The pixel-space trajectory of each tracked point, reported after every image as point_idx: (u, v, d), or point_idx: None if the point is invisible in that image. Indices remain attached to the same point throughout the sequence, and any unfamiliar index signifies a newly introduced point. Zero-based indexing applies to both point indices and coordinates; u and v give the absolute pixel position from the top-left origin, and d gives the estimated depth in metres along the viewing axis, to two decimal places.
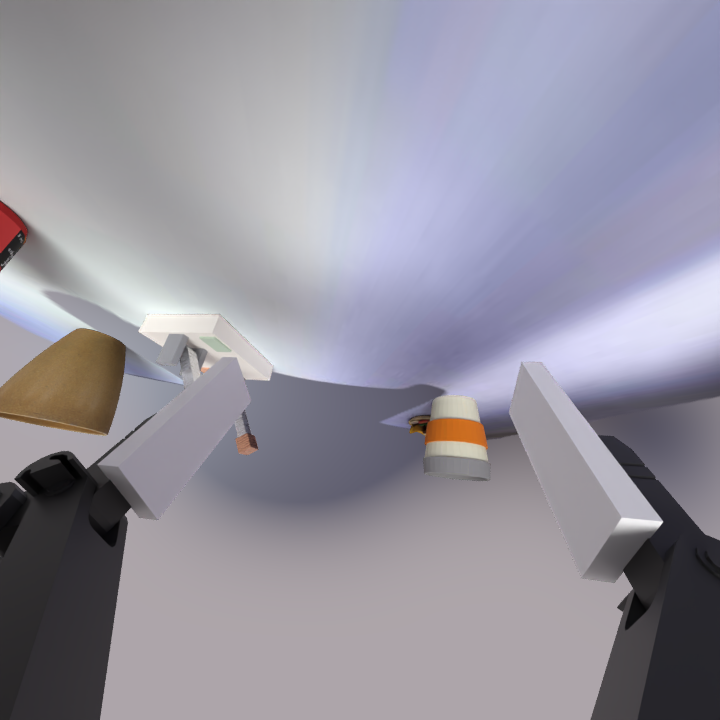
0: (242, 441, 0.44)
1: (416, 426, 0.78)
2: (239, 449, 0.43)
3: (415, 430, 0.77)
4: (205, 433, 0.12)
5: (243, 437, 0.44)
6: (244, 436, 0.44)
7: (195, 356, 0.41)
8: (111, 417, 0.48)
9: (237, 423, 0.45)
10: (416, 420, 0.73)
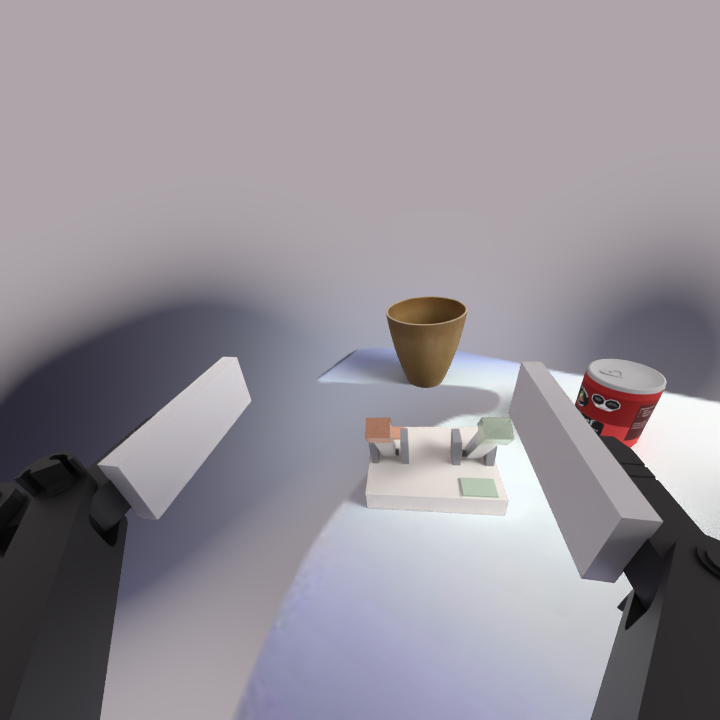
0: (391, 431, 0.29)
1: None
2: (390, 421, 0.28)
3: None
4: (205, 433, 0.12)
5: (391, 434, 0.29)
6: (391, 437, 0.29)
7: (469, 457, 0.36)
8: (404, 336, 0.50)
9: None
10: None
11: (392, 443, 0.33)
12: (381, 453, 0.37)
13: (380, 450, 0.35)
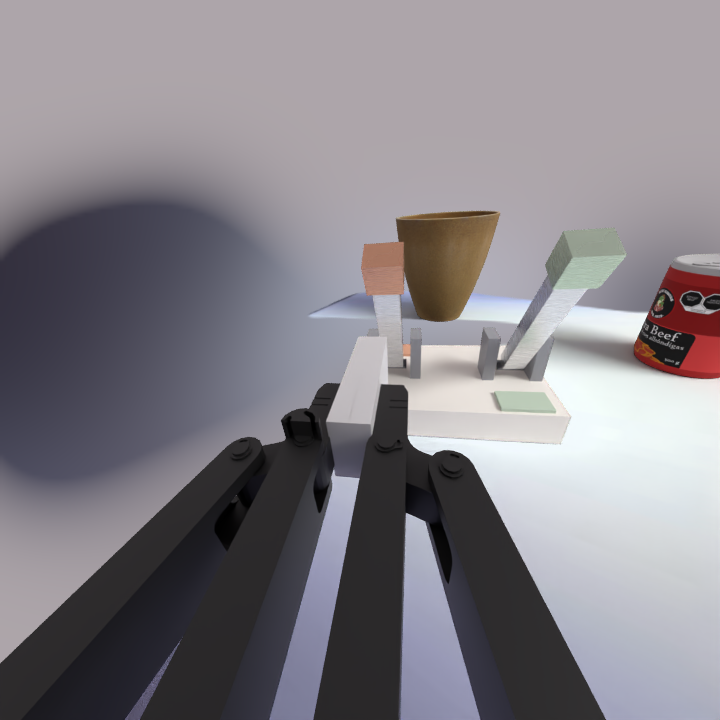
0: None
1: None
2: (403, 250, 0.17)
3: None
4: None
5: None
6: None
7: (509, 364, 0.25)
8: (417, 241, 0.39)
9: (400, 302, 0.21)
10: None
11: (401, 324, 0.22)
12: None
13: None
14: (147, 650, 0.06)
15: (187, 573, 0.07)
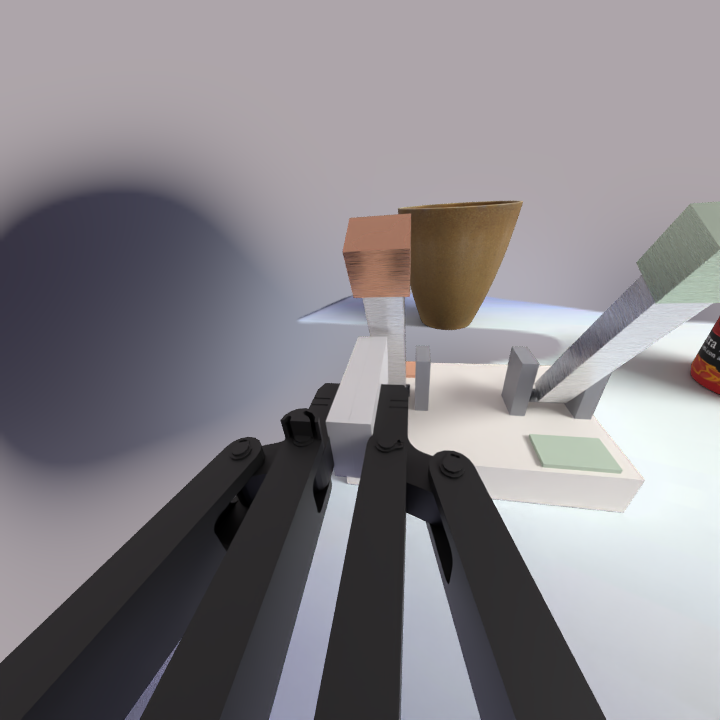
0: (410, 261, 0.11)
1: None
2: None
3: None
4: None
5: None
6: None
7: (548, 397, 0.19)
8: (423, 234, 0.33)
9: (404, 310, 0.15)
10: None
11: (404, 340, 0.16)
12: None
13: None
14: (146, 650, 0.06)
15: (187, 573, 0.07)
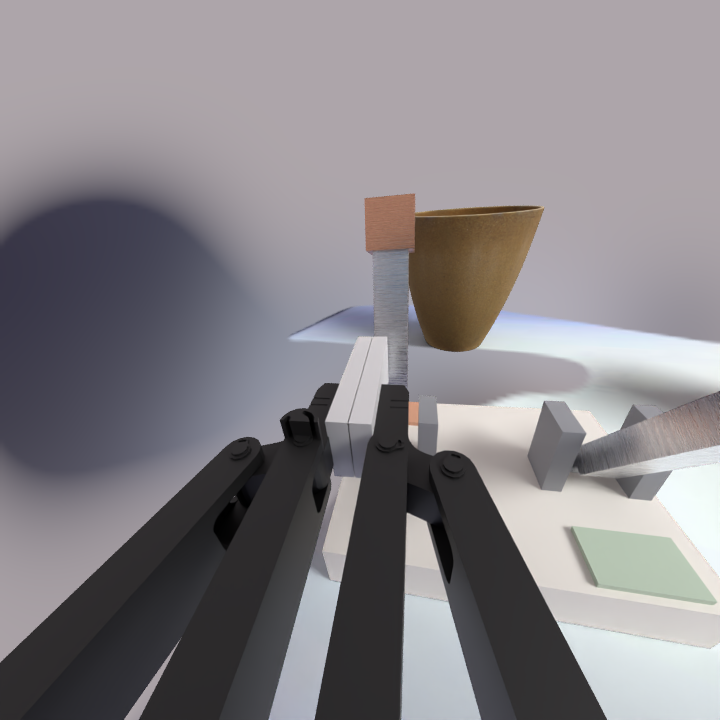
0: (414, 231, 0.15)
1: None
2: None
3: None
4: None
5: (414, 240, 0.14)
6: None
7: (596, 473, 0.14)
8: (428, 246, 0.28)
9: None
10: None
11: (407, 335, 0.16)
12: None
13: None
14: (145, 651, 0.06)
15: (186, 573, 0.07)
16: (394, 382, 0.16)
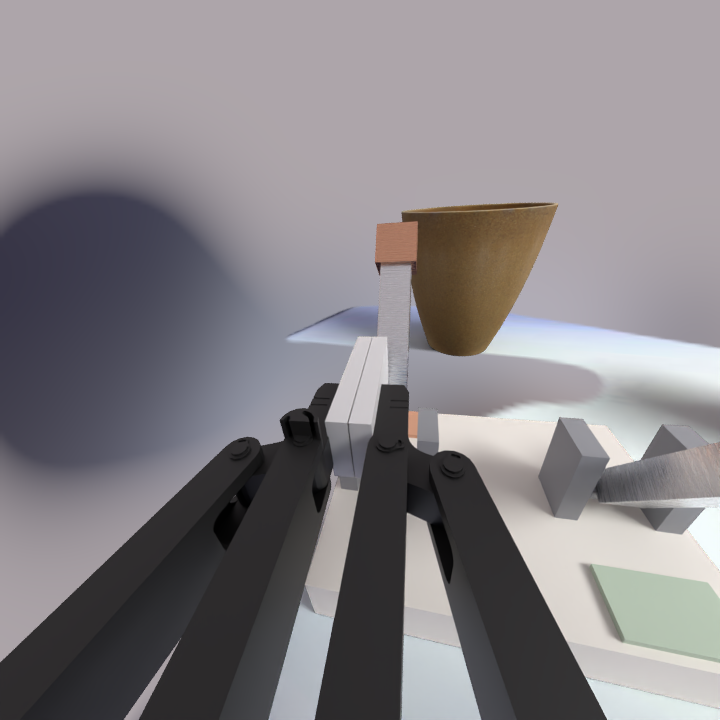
0: None
1: None
2: (417, 244, 0.18)
3: None
4: None
5: (416, 259, 0.17)
6: (416, 259, 0.17)
7: (619, 503, 0.12)
8: (432, 244, 0.27)
9: None
10: None
11: (408, 340, 0.17)
12: None
13: None
14: (145, 651, 0.06)
15: (186, 573, 0.07)
16: (394, 383, 0.16)
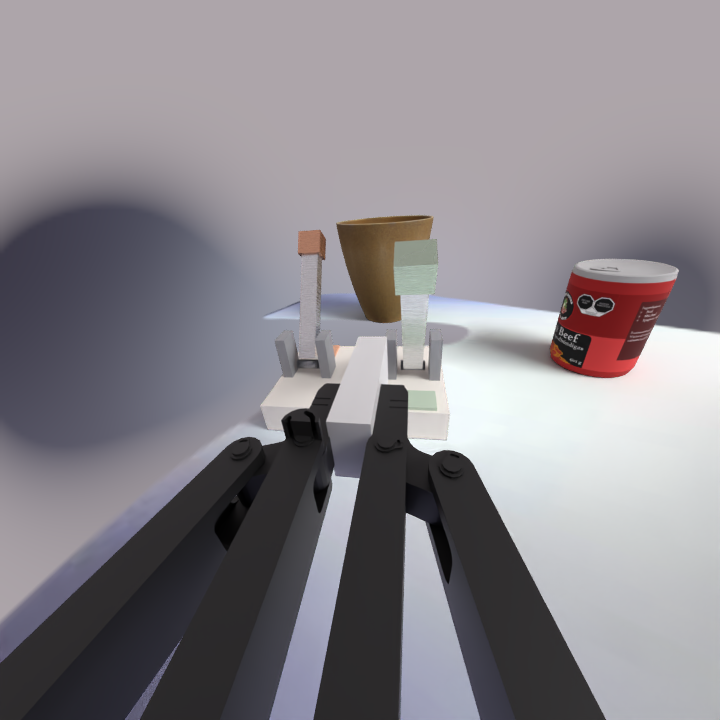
0: (322, 247, 0.31)
1: None
2: (324, 242, 0.31)
3: None
4: None
5: (322, 251, 0.30)
6: (321, 251, 0.30)
7: (407, 364, 0.27)
8: (352, 245, 0.41)
9: (320, 279, 0.31)
10: None
11: (318, 296, 0.30)
12: (299, 334, 0.30)
13: (301, 312, 0.30)
14: (146, 650, 0.06)
15: (187, 573, 0.07)
16: (309, 319, 0.30)
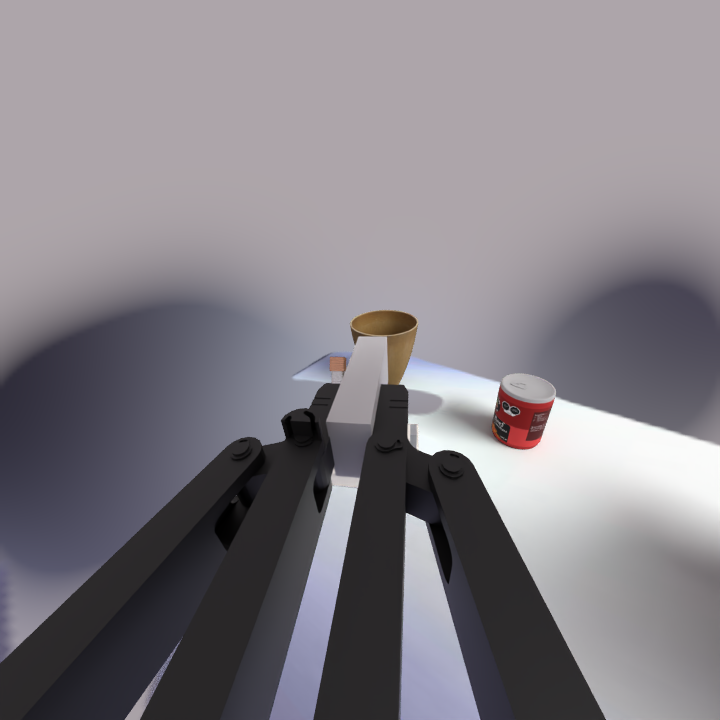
0: (344, 365, 0.49)
1: None
2: (345, 360, 0.50)
3: None
4: None
5: (344, 368, 0.49)
6: (344, 369, 0.48)
7: None
8: None
9: None
10: None
11: None
12: None
13: None
14: (146, 650, 0.06)
15: (187, 573, 0.07)
16: None
